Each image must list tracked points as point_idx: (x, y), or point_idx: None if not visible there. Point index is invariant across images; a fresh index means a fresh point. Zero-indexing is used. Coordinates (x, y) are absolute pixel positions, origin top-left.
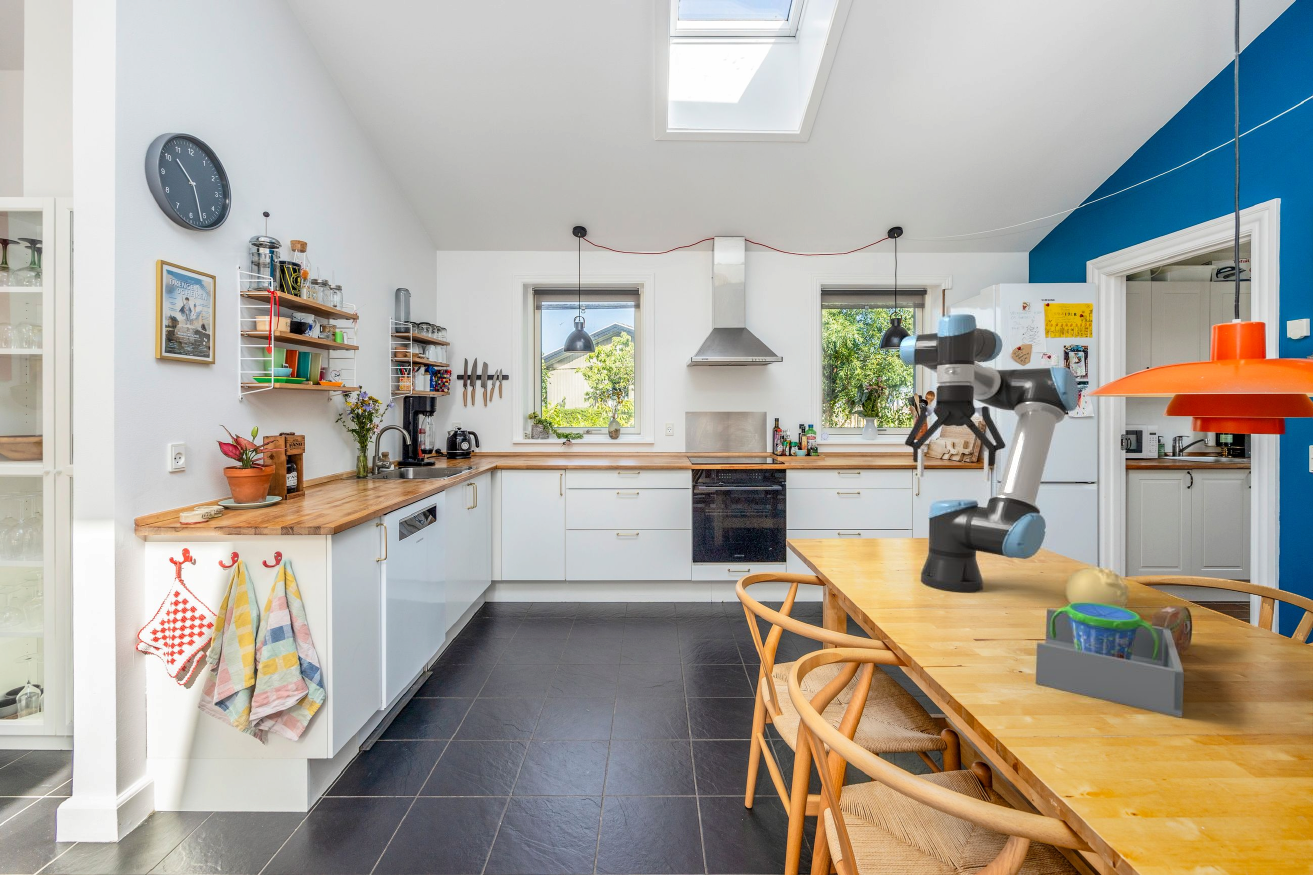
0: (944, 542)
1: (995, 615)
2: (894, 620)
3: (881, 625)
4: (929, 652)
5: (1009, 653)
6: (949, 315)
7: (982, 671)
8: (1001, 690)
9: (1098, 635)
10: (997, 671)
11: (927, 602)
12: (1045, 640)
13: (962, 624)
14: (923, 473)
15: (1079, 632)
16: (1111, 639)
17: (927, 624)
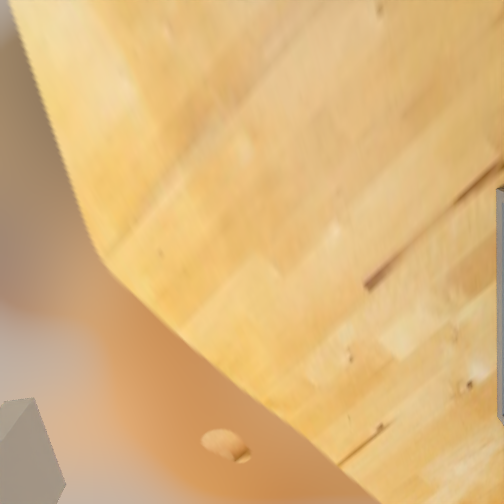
0: None
1: (360, 59)
2: (192, 295)
3: (189, 344)
4: (321, 410)
5: (440, 314)
6: None
7: (417, 425)
8: (456, 471)
9: None
10: (437, 409)
11: (180, 84)
12: (501, 215)
13: (316, 206)
14: (21, 418)
15: None
16: None
17: (257, 267)
